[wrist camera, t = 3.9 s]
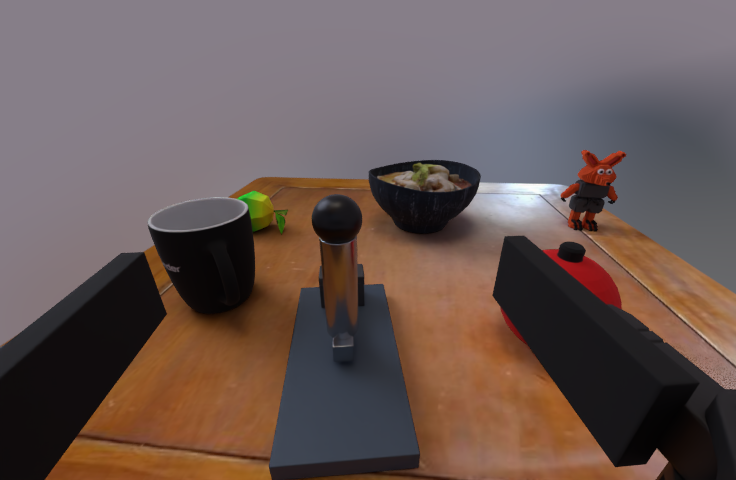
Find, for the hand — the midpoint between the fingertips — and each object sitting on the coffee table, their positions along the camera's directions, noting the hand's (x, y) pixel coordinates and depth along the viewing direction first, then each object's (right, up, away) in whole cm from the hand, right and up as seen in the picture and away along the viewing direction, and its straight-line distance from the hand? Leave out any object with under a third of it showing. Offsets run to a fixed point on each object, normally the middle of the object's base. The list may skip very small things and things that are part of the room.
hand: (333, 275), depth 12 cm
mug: (-14, -6, +23) cm, 27 cm away
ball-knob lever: (-1, -6, +17) cm, 18 cm away
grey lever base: (-1, -9, +15) cm, 18 cm away
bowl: (+10, +4, +42) cm, 43 cm away
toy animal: (+36, +3, +40) cm, 54 cm away
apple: (-16, +3, +40) cm, 43 cm away
